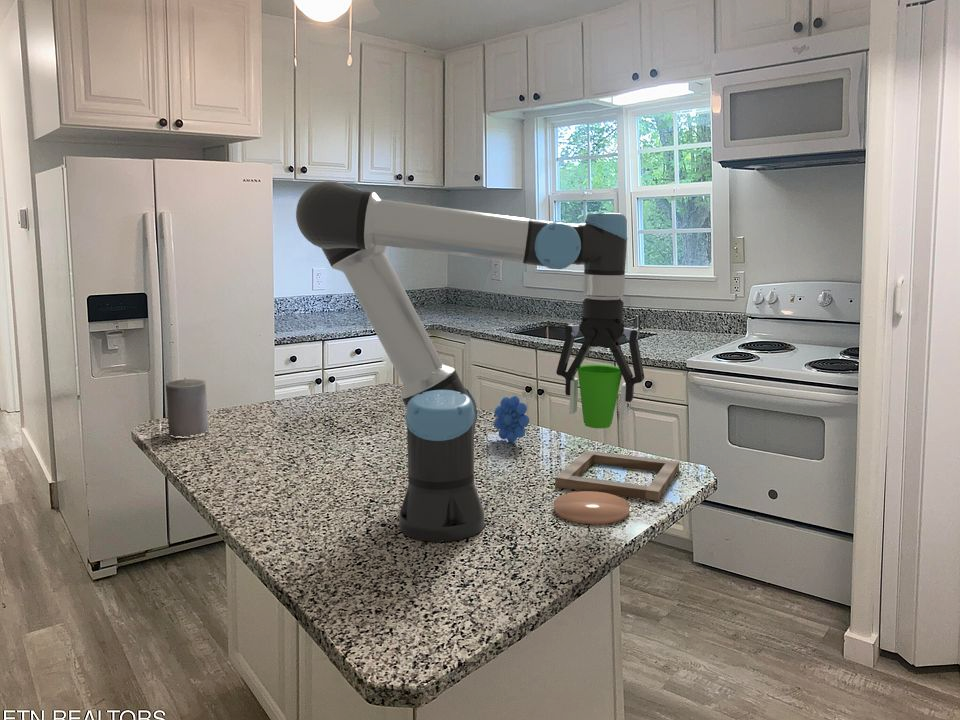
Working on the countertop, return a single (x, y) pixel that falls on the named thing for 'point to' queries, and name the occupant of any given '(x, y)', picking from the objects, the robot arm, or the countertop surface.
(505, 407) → the grapes
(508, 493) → the countertop surface
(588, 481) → the frame
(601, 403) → the cup
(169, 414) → the pillar candle
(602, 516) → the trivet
